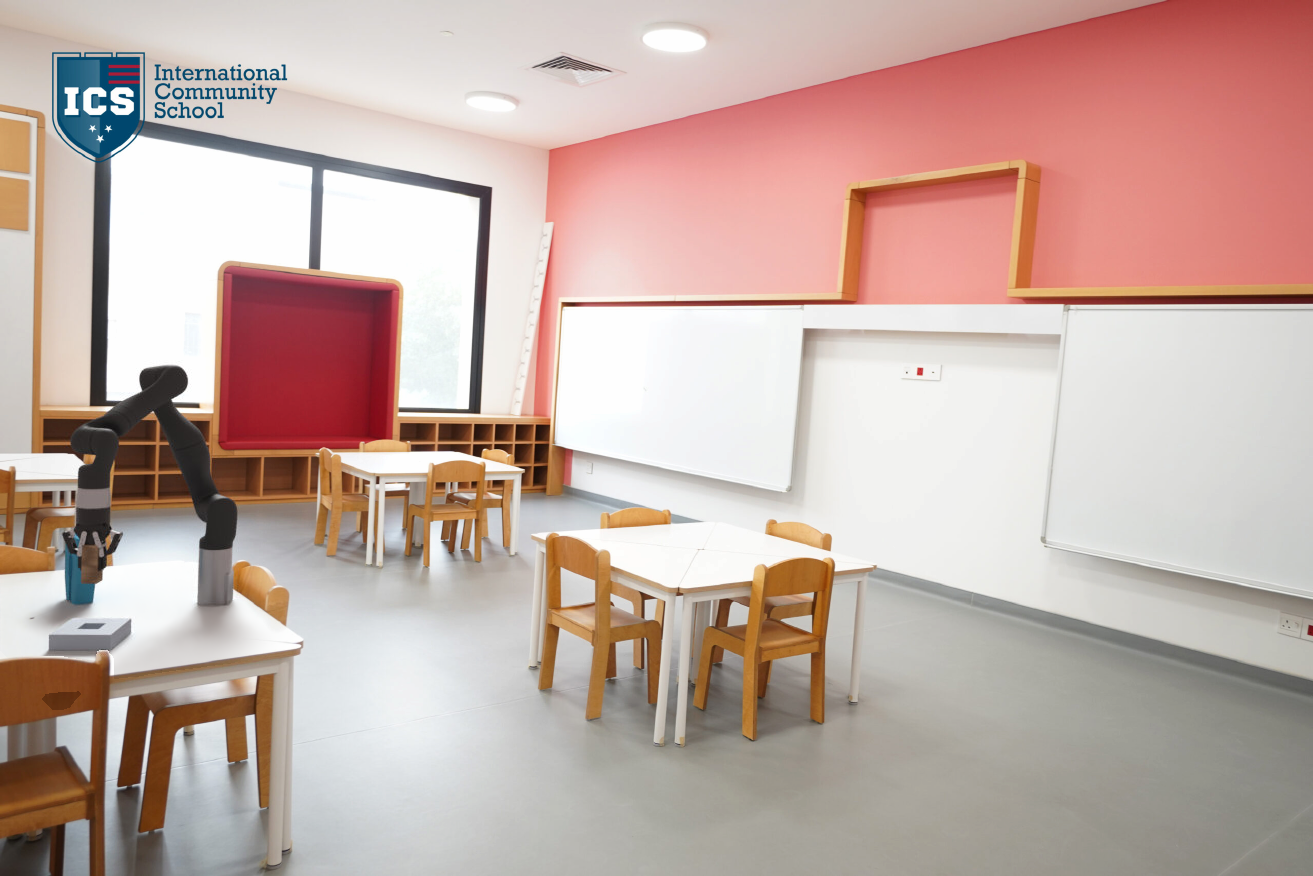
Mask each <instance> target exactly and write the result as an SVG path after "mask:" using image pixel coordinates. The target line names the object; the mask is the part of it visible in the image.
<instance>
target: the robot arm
mask: <svg viewBox="0 0 1313 876" xmlns="http://www.w3.org/2000/svg"><path fill="white" fill-rule="evenodd" d="M138 376H139V377H138V380H139V387H140V389H141V391H140V392H137V393H135V394H134V395H131V396H130V397H127V398H125V399H124V400H122V401H119V402H118V403H116V404H115V405H114V406H113V407H112V408H111V409H109V410H108V411H107V412H105V414H104V415H102V416H100V417H96V418H93V419H92V420H90V421H88V422H85V423H84V424H82V425H80V426H79V427H77V428H76V429H75V430H74V431H73V432H72V434H71V436H70V440H69V442H70V446H71V449H72V450H73V451H74V452H76V453H78V454H80V455H91V456H95V457H94V459H93V461H92V463H88V464H87V463H86V464H82V465H81V466H79V468H78V471H77V491H76V497H75V498H76V499H75V526H74V527H73V529H70V530H69V529H68V530H66V531H64V532H62V534H61V535H62V537H63V540H64V544H65V543H66V546H67V548H68V550H69V553H70V554H75V555H77V556H78V568H80V571H81V567H82V545H85V544H90V543H92V544H95V545H96V546H98V553H99V556H100V557H98V571H102V570H103V571H104V570H105V568H107V566H108V565H107V564H108V556H109V555H112V554H114V553H115V552H116V551H117V548H118V546H119V544H120V542H121V540H122V537H123V536H124V532H122V531H116V530H113V528H112V526H111V513H112V512H111V507H112V495H111V471H112V468H113V465H114V462H115V459H116V456H117V455H118V454H117V453H118V450H119V446H120V439H119V438H121V437H123V436H125V435H126V434H128V433H129V432H130V431H131V430H132V429H133V428H134V427H135V426H137V425H138V423H140V422H141V421H142V420H143V419H145V418H146V417H147V416H149V415H150V414H151V413H154V415H155V417H156V419H157V421H158V423H159V424H160V425H159V426H160V427H161V429H162V432H163V433H164V436H165V438H166V440H167V443H168V445H169V448H170V451H171V453H172V455H173V458H174V460H175V462H176V464H177V466H178V468H179V471H180V473H181V475H182V477H183V479H184V481H185V483H186V485H187V486H186V487H187V488H188V491H189V494H190V497H191V501H192V503H193V508H194V511H195V513H196V516H197V518H199V520H201V521H202V522H203V523H205V534H204V536H201V537H200V538H199V541H198V543H199V544H198V546H199V547H198V565H197V566H198V567H197V569H198V570H197V571H198V572H197V604H198V605H200V606H208V607H209V606H211V607H212V606H213V607H214V606H223V605H229V604H230V603H231V601H233V599H234V580H235V579H234V574H235V573H234V572H235V570H234V569H233V551H234V550H233V547H234V541H235V539H236V536H237V527H238V526H237V524H238V506H237V504H236V502H235V501H234V500H233V499H232V498H230V497H227V496H225V495H221V493H220V492H219V490H218V488H217V486H216V484H215V482H214V480H213V477H212V472H211V454H210V450H209V447H208V444H207V442H206V439H205V437H204V436H203V433H202V432H201V430H200V429H199V428H198V427H197V426H196V425H195V424H194V423H193V422H191V421H190V420H189V419H188V418H187V417H185V416H184V415H183V414H182V413H181V412H180V410H179V409H178V408H177V407H176V406H175V403H174V402H173V400H174V399H175V398H177V397H178V396H180V395H182V394H183V393H184V392H185V391H186V390H187V388H188V385H189V377H188V375H187V372H186V371H185V369H184V368H182V366H179V365H178V364H177V365H176V364H163V365H155V366H149V367H148V366H147V367H145V368H143V369H142V370H141V371H140V373H139V375H138ZM75 534H76V535H77V536H78V538H79V539H80V542H79V546H78V547H79V548H78V547H77V544H76V542H75V539H74V537H75ZM109 536H110V539H111V541H110V543H109V546H108V547H107V545H108V544H107V538H108V537H109ZM101 543H102V544H101Z"/></svg>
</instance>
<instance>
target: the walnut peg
mask: <svg viewBox="0 0 1313 876" xmlns="http://www.w3.org/2000/svg"><path fill="white" fill-rule="evenodd" d="M101 544H102V543H101ZM98 557H100V556H99V553H98V546H96V545H95V544H92V543H90V544H85V545H82V567H81V583H84V584H95V585H96V584H99V583H100V582H102V581H103V577H104V575H103V574H104V573H103V572H104V570H102V571H98Z"/></svg>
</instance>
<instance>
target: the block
mask: <svg viewBox="0 0 1313 876" xmlns="http://www.w3.org/2000/svg"><path fill="white" fill-rule="evenodd" d="M74 539H75V542H76V544H77V547H78V546H79V542H80V539H79V538H78V536H77V535H76V534H75V537H74ZM64 544H65V545H64V582H65V583H64V584H65V585H64V587H65V599H66V600H67V601H68V602H70V603H71V604H72V605H74V606H80V605H85V604H87V605H88V604H92V603H94V598H95V589H96V584H84V583H81V571H80V568H78V556H77V555H75V554H70V553H69V550H68V548H67V546H66V543H65V542H64ZM78 548H79V547H78Z"/></svg>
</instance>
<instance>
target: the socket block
mask: <svg viewBox="0 0 1313 876" xmlns="http://www.w3.org/2000/svg"><path fill="white" fill-rule="evenodd" d="M131 633H132V617H130V618H129V617H127V618H126V617H122V618H121V617H98V618H97V617H72V618H71V619H70V620H68V621H66V622H65V623H64V624H62V625H61V626H60V627H58V628H56V629H55V630H54V631H52V632H50V633H49V634H48V651H102V650H101V649H106V650H105V651H112V649H114V648H115V647H116V646H117V645H119V644H120V643H121V642H122V641H123V640H124V639H126V638H127V637H128V636H129V635H130V634H131Z"/></svg>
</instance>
